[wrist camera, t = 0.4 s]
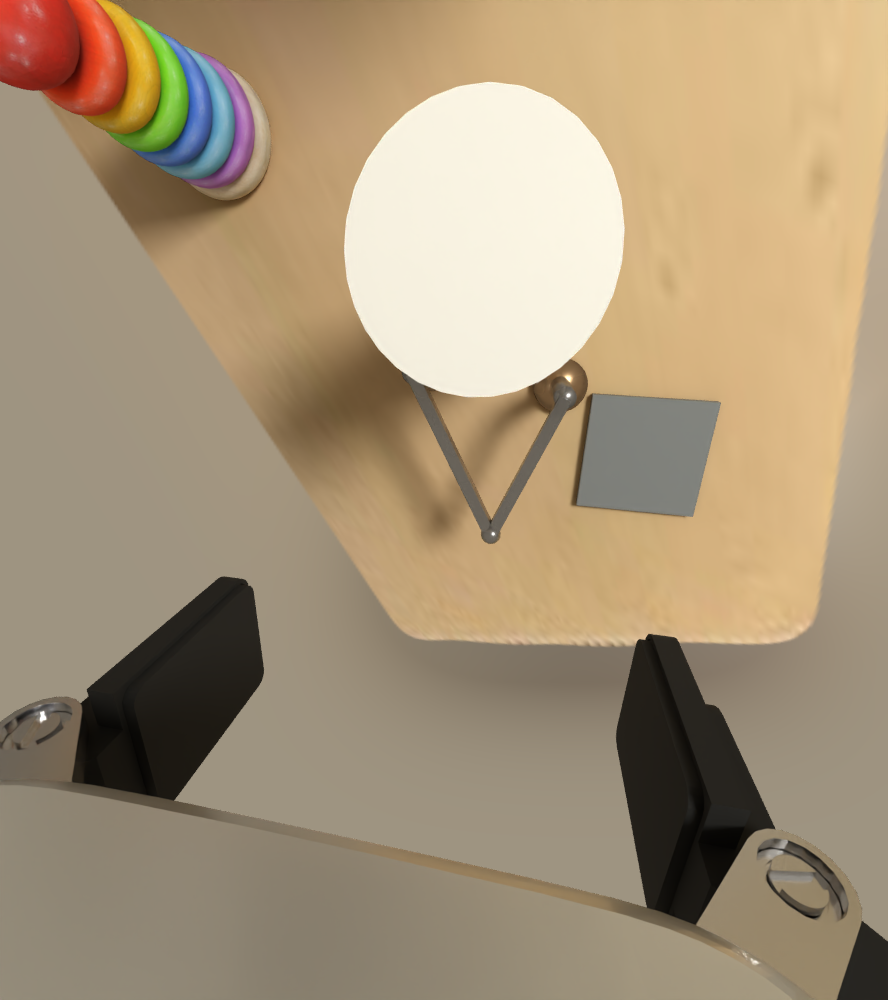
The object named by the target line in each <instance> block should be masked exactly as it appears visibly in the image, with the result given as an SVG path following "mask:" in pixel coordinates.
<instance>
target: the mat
mask: <svg viewBox="0 0 888 1000" xmlns="http://www.w3.org/2000/svg"><path fill="white" fill-rule="evenodd" d="M720 404H721V403H720V402H718V401H702V400H687V399H671V398H655V397H640V396H624V395H608V394H593V393H592V400H591V406H590V413H589V420H588V426H587V433H586V440H585V447H584V453H583V460H582V467H581V473H580V480H579V487H578V493H577V500H576V504H577V505H579V506H589V507H599V508H609V509H619V510H630V511H640V512H650V513H660V514H670V515H680V516H691V517H693V514H694V510H695V506H696V502H697V498H698V494H699V490H700V486H701V482H702V478H703V474H704V469H705V465H706V461H707V457H708V453H709V449H710V445H711V441H712V437H713V433H714V429H715V425H716V421H717V417H718V413H719V408H720Z"/></svg>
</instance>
